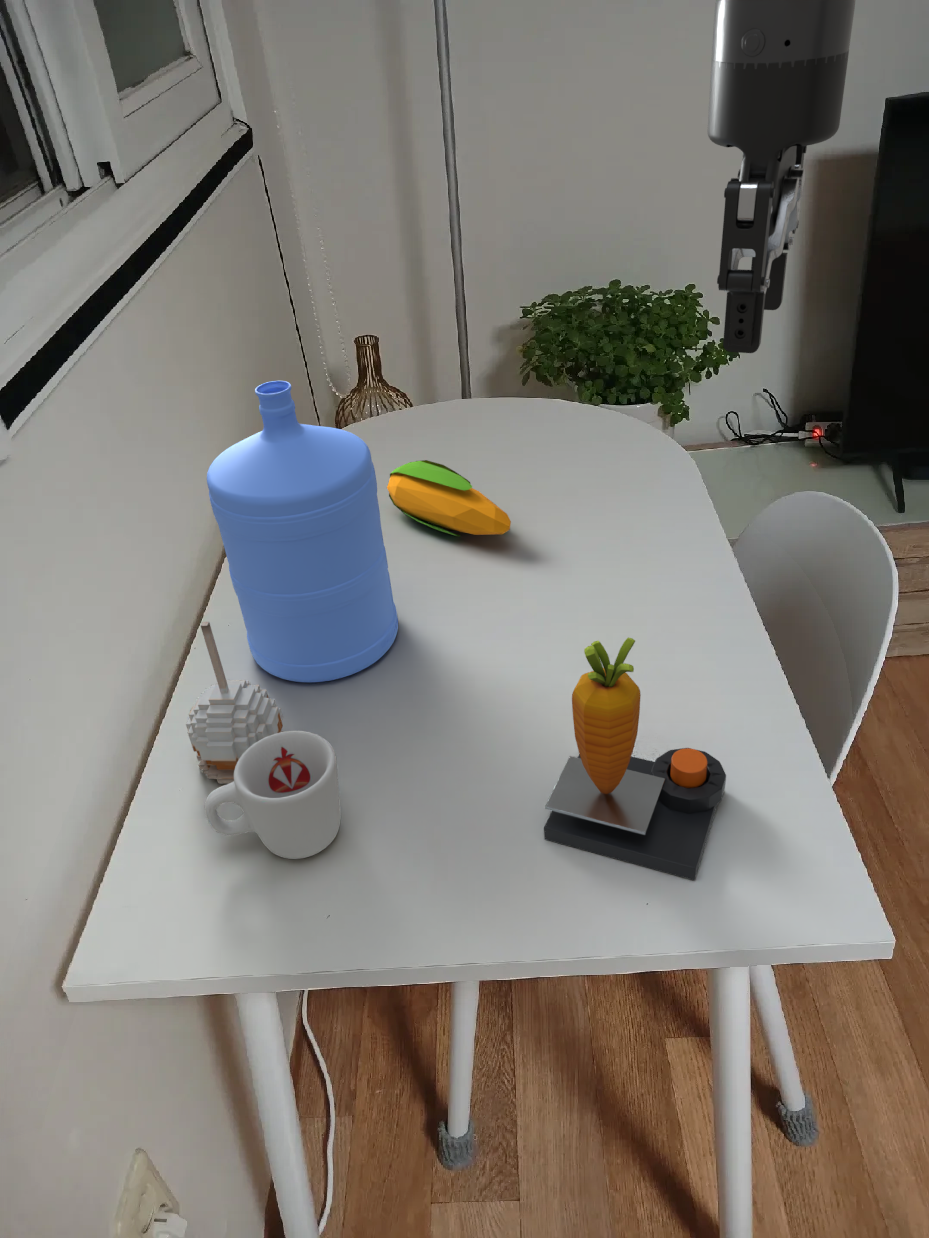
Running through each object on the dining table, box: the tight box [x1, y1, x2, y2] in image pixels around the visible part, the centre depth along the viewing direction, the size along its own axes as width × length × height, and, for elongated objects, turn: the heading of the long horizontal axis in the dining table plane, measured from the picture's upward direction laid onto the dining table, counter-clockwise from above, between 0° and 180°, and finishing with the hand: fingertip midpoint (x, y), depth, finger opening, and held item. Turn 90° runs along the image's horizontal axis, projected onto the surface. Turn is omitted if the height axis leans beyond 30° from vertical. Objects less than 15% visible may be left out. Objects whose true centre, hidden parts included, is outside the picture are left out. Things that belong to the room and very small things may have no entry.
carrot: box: [571, 637, 642, 794], centre depth 71 cm, size 5×5×15 cm
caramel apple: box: [185, 621, 284, 784], centre depth 82 cm, size 8×8×15 cm
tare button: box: [670, 747, 707, 788], centre depth 76 cm, size 3×3×2 cm
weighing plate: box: [544, 755, 665, 835], centre depth 75 cm, size 8×6×1 cm
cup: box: [204, 730, 342, 860], centre depth 76 cm, size 11×8×8 cm
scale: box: [543, 747, 727, 881], centre depth 77 cm, size 12×11×3 cm
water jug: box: [206, 380, 399, 683], centre depth 92 cm, size 16×16×28 cm
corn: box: [386, 459, 512, 538], centre depth 116 cm, size 7×8×20 cm
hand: (753, 328), depth 64 cm, fingers open, 8 cm apart
